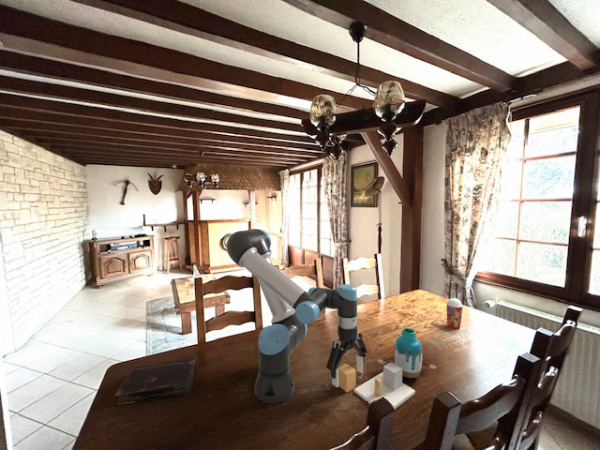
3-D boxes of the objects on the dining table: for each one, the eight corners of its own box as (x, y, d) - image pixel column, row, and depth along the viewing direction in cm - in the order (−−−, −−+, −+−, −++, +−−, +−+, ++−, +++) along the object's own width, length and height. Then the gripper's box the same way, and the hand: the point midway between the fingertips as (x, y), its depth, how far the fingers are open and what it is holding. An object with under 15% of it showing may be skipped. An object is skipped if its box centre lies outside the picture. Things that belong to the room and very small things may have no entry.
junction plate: (385, 416, 87) (385, 392, 87) (354, 392, 98) (354, 371, 98) (415, 393, 98) (415, 372, 97) (383, 374, 109) (384, 355, 108)
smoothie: (462, 325, 153) (463, 292, 152) (461, 331, 146) (463, 297, 145) (445, 322, 158) (447, 290, 156) (445, 327, 151) (446, 294, 149)
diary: (133, 376, 109) (133, 365, 109) (197, 367, 115) (196, 356, 115) (114, 409, 91) (113, 395, 91) (190, 396, 97) (189, 383, 97)
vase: (419, 386, 101) (421, 339, 100) (391, 377, 107) (392, 332, 106) (423, 372, 110) (424, 328, 109) (397, 364, 116) (398, 322, 115)
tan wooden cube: (346, 392, 98) (346, 374, 98) (337, 385, 102) (337, 368, 102) (355, 387, 101) (356, 370, 101) (346, 380, 105) (346, 363, 105)
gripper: (329, 339, 90) (330, 397, 91) (376, 319, 104) (376, 370, 105) (316, 331, 96) (317, 386, 97) (361, 314, 110) (362, 362, 112)
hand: (348, 378), depth 101 cm, fingers open, 13 cm apart
